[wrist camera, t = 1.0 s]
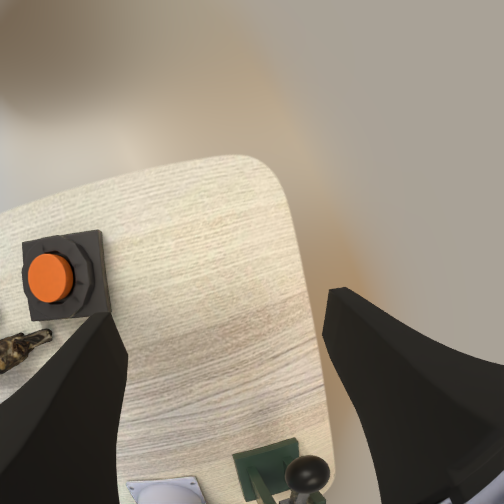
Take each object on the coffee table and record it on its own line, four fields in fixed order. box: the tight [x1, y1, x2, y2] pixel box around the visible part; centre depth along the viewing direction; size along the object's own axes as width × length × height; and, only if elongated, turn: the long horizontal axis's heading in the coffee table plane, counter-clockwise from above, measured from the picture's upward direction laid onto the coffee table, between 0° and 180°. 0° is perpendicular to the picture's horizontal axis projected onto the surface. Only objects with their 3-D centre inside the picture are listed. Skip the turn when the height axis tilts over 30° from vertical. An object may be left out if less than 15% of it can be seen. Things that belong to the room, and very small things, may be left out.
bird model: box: [0, 329, 52, 374], centre depth 17 cm, size 3×14×3 cm, turn 110°
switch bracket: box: [233, 438, 326, 504], centre depth 20 cm, size 8×7×9 cm
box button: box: [28, 254, 73, 303], centre depth 17 cm, size 4×4×2 cm
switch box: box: [22, 230, 112, 321], centre depth 19 cm, size 7×8×3 cm
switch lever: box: [279, 455, 330, 504], centre depth 15 cm, size 13×3×3 cm, turn 8°
